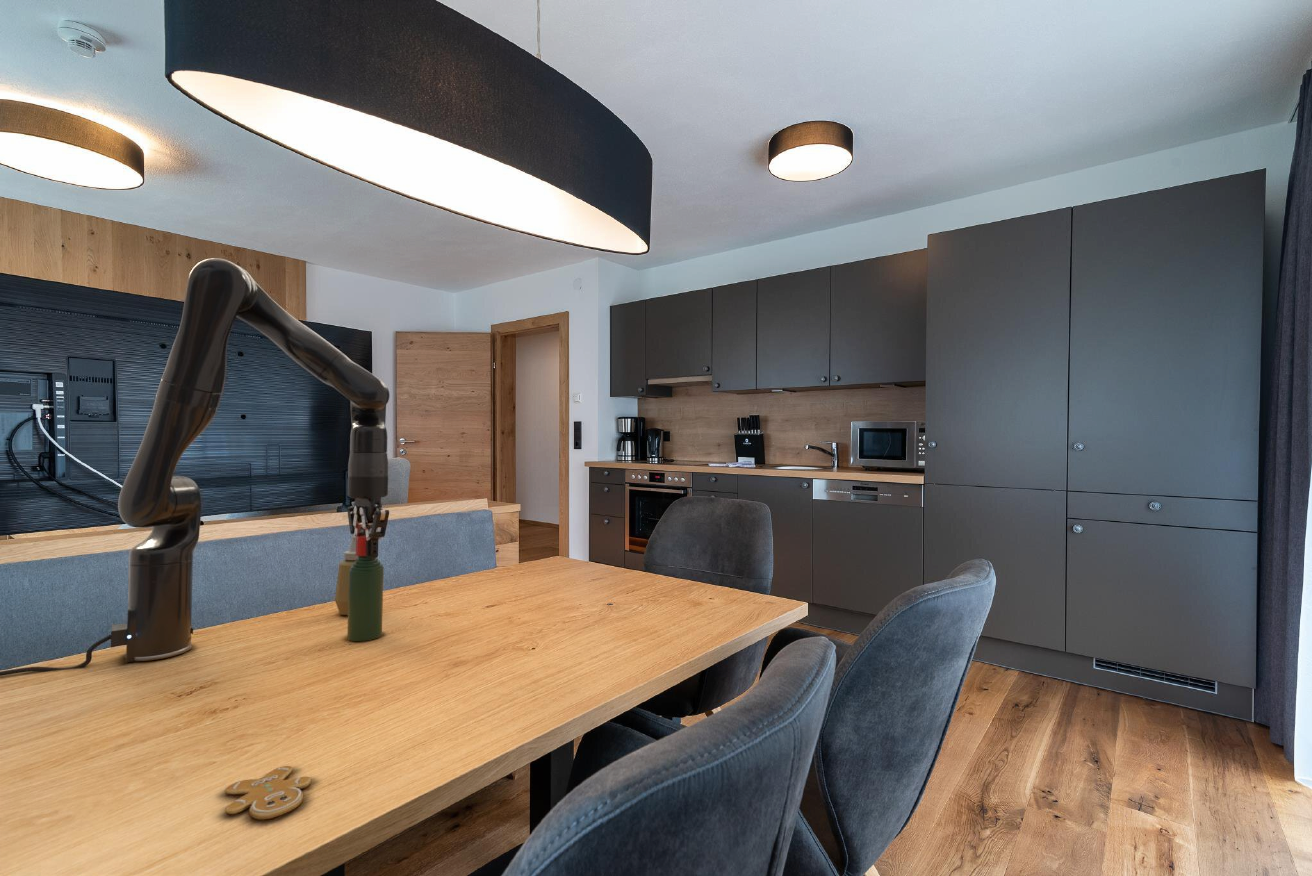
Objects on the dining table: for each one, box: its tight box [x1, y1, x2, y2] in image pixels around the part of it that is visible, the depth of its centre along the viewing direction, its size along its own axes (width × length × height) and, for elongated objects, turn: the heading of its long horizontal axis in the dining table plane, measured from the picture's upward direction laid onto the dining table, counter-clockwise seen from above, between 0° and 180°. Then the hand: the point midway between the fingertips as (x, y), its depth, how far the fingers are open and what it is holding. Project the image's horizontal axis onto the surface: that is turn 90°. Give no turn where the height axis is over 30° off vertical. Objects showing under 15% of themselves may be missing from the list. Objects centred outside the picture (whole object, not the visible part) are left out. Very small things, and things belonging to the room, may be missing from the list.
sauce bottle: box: [346, 556, 384, 642], centre depth 120 cm, size 6×6×20 cm
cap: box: [356, 535, 367, 556], centre depth 120 cm, size 4×4×4 cm
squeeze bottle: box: [334, 535, 358, 616], centre depth 137 cm, size 8×8×18 cm
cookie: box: [224, 765, 312, 820], centre depth 65 cm, size 8×1×10 cm
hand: (366, 556), depth 120 cm, fingers closed on cap, 3 cm apart
